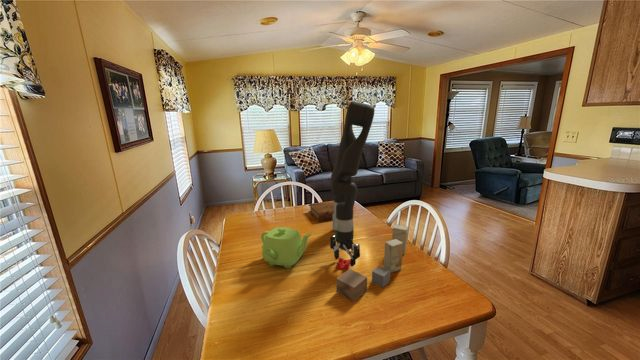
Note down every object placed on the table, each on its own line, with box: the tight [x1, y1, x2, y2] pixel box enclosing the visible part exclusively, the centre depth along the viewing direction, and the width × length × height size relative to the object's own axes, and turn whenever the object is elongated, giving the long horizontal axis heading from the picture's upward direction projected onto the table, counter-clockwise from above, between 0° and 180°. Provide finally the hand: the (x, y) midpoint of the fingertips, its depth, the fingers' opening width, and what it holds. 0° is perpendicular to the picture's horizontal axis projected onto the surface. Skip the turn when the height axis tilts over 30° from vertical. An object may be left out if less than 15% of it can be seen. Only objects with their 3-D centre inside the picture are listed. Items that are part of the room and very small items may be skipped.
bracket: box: [336, 257, 351, 271], centre depth 116 cm, size 6×5×3 cm
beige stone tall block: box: [391, 224, 409, 255], centre depth 125 cm, size 6×4×12 cm
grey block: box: [371, 265, 391, 289], centre depth 104 cm, size 5×5×5 cm
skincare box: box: [383, 239, 403, 274], centre depth 111 cm, size 6×4×12 cm
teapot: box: [260, 226, 313, 270], centre depth 116 cm, size 25×22×16 cm
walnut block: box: [335, 268, 368, 303], centre depth 99 cm, size 8×8×6 cm
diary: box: [308, 200, 334, 223], centre depth 173 cm, size 23×19×6 cm
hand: (344, 261), depth 116 cm, fingers open, 8 cm apart
